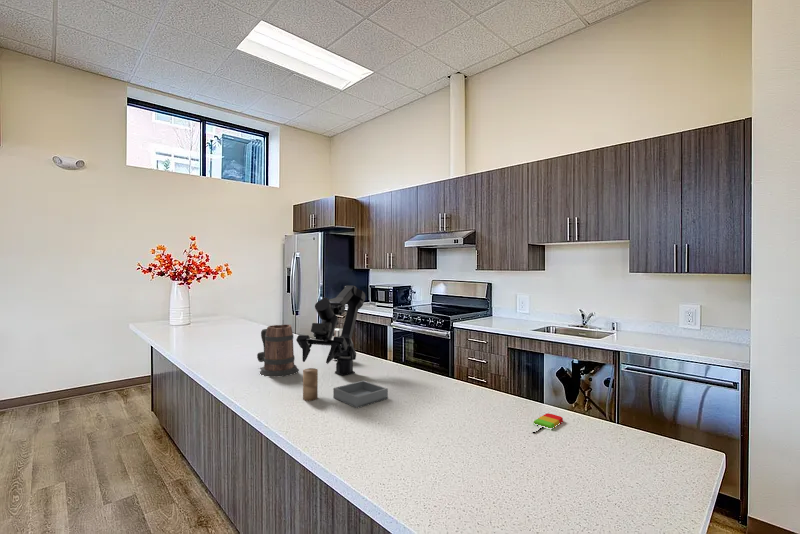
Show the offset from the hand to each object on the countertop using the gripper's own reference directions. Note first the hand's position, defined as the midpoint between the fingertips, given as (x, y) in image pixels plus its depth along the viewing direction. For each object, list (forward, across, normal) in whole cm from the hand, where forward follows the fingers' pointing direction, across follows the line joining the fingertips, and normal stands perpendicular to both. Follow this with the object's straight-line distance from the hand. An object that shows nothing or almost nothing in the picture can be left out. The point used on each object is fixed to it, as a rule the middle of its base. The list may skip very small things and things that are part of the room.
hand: (315, 362), depth 145 cm
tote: (+8, +17, +9) cm, 21 cm away
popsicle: (+15, +78, +3) cm, 79 cm away
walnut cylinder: (+11, 0, +6) cm, 12 cm away
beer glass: (-28, -12, +45) cm, 54 cm away
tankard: (-10, -32, +27) cm, 43 cm away
